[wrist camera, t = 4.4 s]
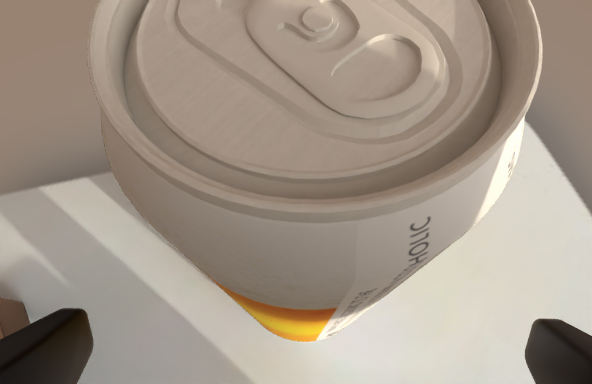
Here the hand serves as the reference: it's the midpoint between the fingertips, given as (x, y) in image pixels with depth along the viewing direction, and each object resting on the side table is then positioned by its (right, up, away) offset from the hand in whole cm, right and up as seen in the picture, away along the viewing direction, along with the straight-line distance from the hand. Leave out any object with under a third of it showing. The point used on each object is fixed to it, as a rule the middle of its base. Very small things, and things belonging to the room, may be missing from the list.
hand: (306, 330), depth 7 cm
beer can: (0, -2, +11) cm, 11 cm away
